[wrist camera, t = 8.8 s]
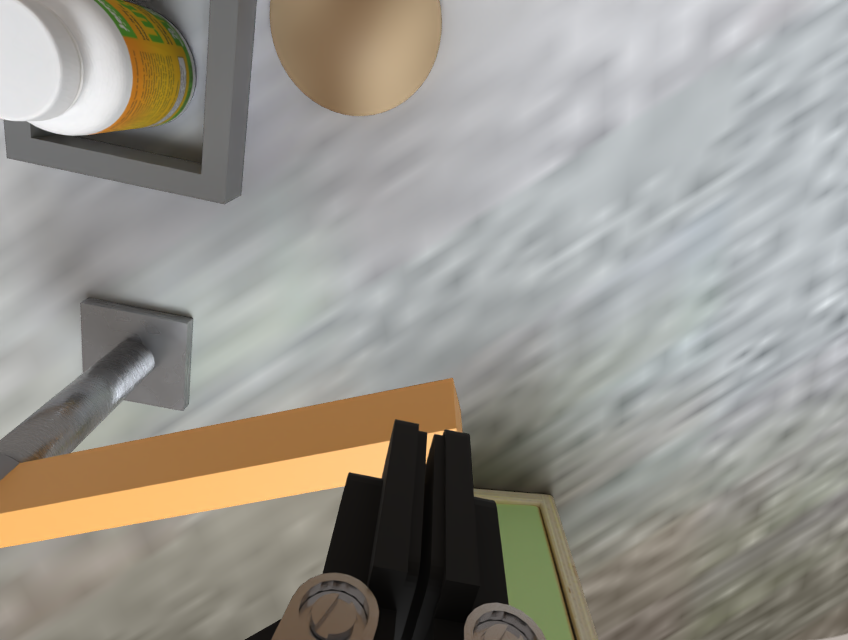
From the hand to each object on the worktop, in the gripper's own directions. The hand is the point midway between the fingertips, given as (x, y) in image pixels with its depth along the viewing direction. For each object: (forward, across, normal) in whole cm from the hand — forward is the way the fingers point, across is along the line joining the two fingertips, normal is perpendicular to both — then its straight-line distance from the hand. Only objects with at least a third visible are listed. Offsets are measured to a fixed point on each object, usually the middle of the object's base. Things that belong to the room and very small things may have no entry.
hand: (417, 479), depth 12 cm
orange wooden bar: (+8, +8, +6) cm, 13 cm away
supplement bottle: (+20, +16, -6) cm, 26 cm away
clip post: (+19, +16, +10) cm, 27 cm away
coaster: (+20, +6, -10) cm, 23 cm away
